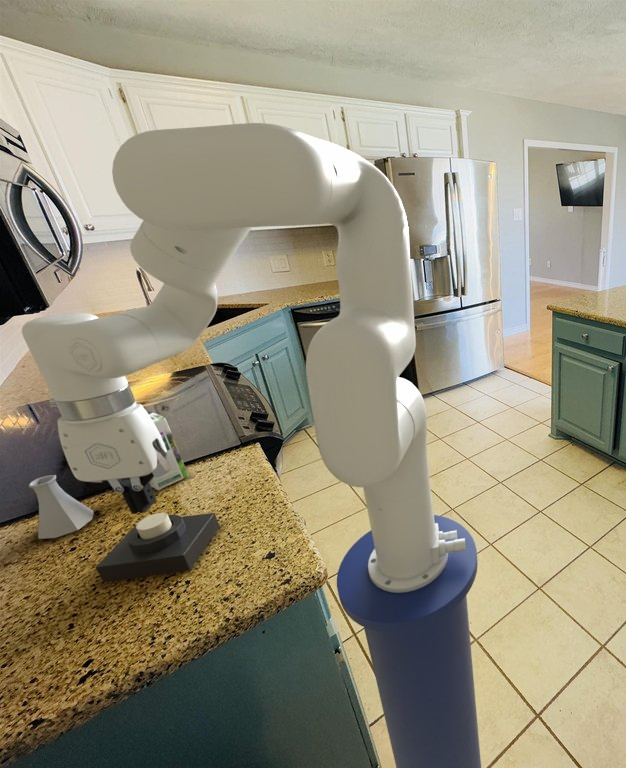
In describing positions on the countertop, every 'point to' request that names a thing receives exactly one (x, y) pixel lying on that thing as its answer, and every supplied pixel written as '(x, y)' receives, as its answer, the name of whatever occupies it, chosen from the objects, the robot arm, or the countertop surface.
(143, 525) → the white push button
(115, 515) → the countertop surface
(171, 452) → the syrup box
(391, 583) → the robot arm
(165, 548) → the dark grey button base
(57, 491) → the flask
